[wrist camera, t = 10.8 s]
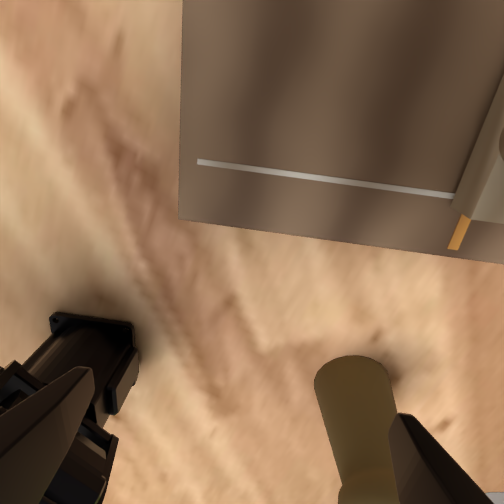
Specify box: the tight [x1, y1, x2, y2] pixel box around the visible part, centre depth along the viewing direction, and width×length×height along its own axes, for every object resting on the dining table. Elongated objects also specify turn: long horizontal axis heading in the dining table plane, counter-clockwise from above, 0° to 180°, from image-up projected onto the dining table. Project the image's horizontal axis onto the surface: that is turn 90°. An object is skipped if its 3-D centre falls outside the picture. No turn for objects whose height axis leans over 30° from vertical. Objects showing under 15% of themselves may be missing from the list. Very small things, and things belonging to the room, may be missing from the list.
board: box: [178, 0, 504, 264], centre depth 17 cm, size 20×14×2 cm
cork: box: [314, 356, 400, 504], centre depth 21 cm, size 6×6×11 cm
